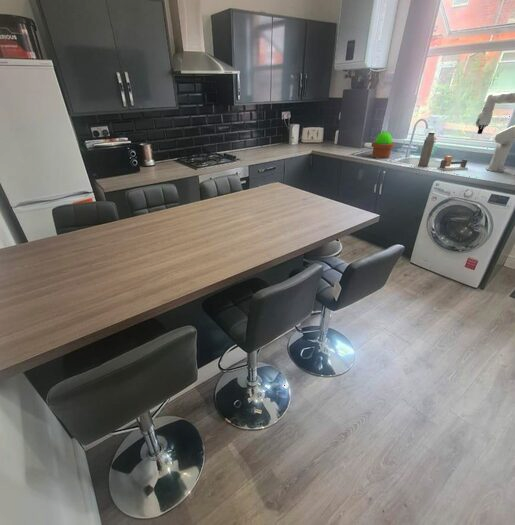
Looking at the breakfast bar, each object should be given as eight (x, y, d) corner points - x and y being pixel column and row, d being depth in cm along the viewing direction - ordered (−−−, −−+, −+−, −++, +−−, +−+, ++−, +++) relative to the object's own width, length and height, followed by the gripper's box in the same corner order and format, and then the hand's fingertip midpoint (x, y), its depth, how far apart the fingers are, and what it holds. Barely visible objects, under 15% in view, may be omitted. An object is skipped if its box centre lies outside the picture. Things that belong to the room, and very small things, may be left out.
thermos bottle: (416, 164, 273) (424, 132, 259) (424, 164, 273) (433, 132, 259) (420, 166, 266) (429, 133, 252) (429, 166, 267) (438, 133, 252)
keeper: (449, 166, 254) (452, 156, 250) (445, 166, 254) (448, 157, 250) (445, 165, 258) (448, 155, 254) (441, 165, 258) (444, 155, 254)
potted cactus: (389, 159, 296) (395, 132, 283) (367, 157, 306) (371, 131, 293) (393, 155, 312) (398, 130, 299) (372, 154, 322) (376, 129, 310)
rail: (467, 169, 255) (470, 160, 252) (444, 170, 253) (447, 161, 249) (458, 166, 264) (461, 158, 260) (436, 168, 261) (439, 159, 258)
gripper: (491, 109, 249) (483, 133, 258) (476, 110, 247) (468, 133, 257) (499, 110, 243) (490, 134, 252) (483, 110, 241) (475, 134, 250)
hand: (479, 133), depth 254 cm, fingers closed
